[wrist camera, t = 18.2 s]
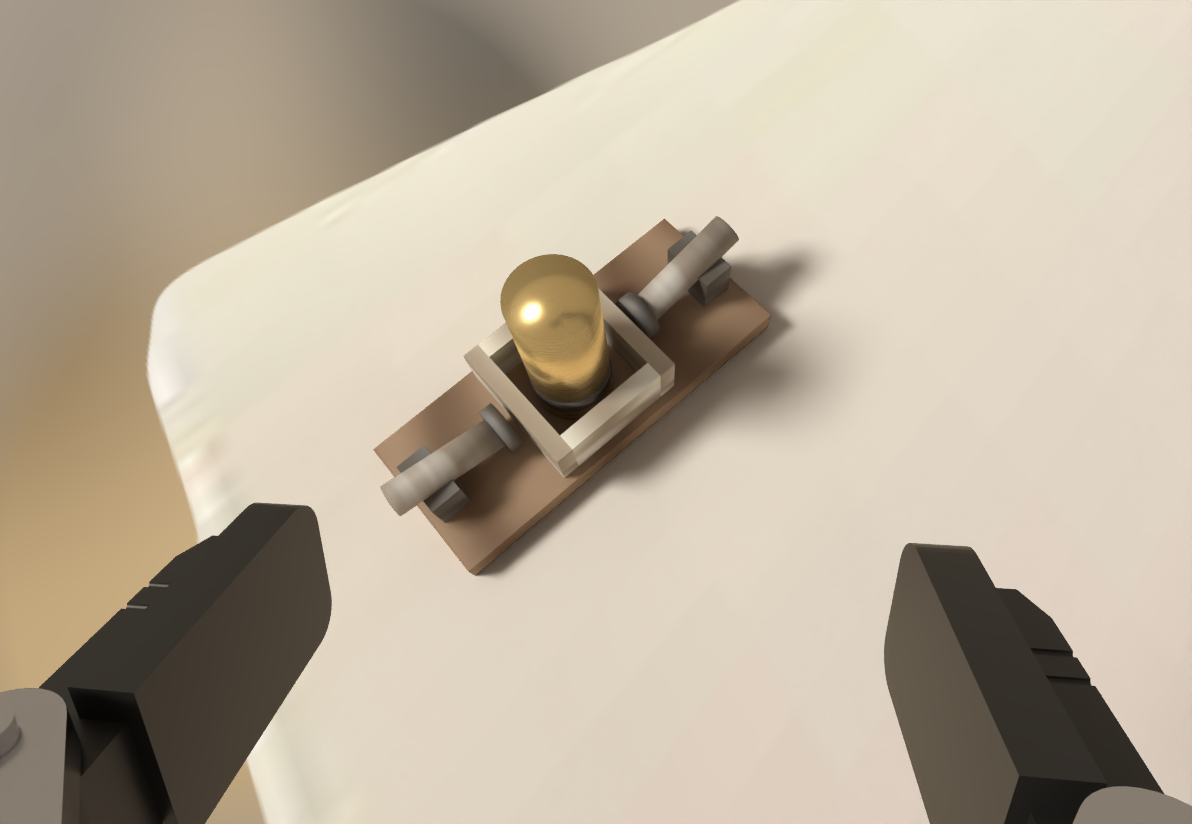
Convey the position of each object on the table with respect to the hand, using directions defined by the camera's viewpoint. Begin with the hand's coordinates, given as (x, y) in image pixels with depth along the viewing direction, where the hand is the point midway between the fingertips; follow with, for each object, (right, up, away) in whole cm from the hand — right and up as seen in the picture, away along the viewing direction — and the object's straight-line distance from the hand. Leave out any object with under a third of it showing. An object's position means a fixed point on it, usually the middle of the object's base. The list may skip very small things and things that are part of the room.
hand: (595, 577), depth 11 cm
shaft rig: (-1, +3, +34) cm, 34 cm away
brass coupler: (-1, +4, +33) cm, 33 cm away
